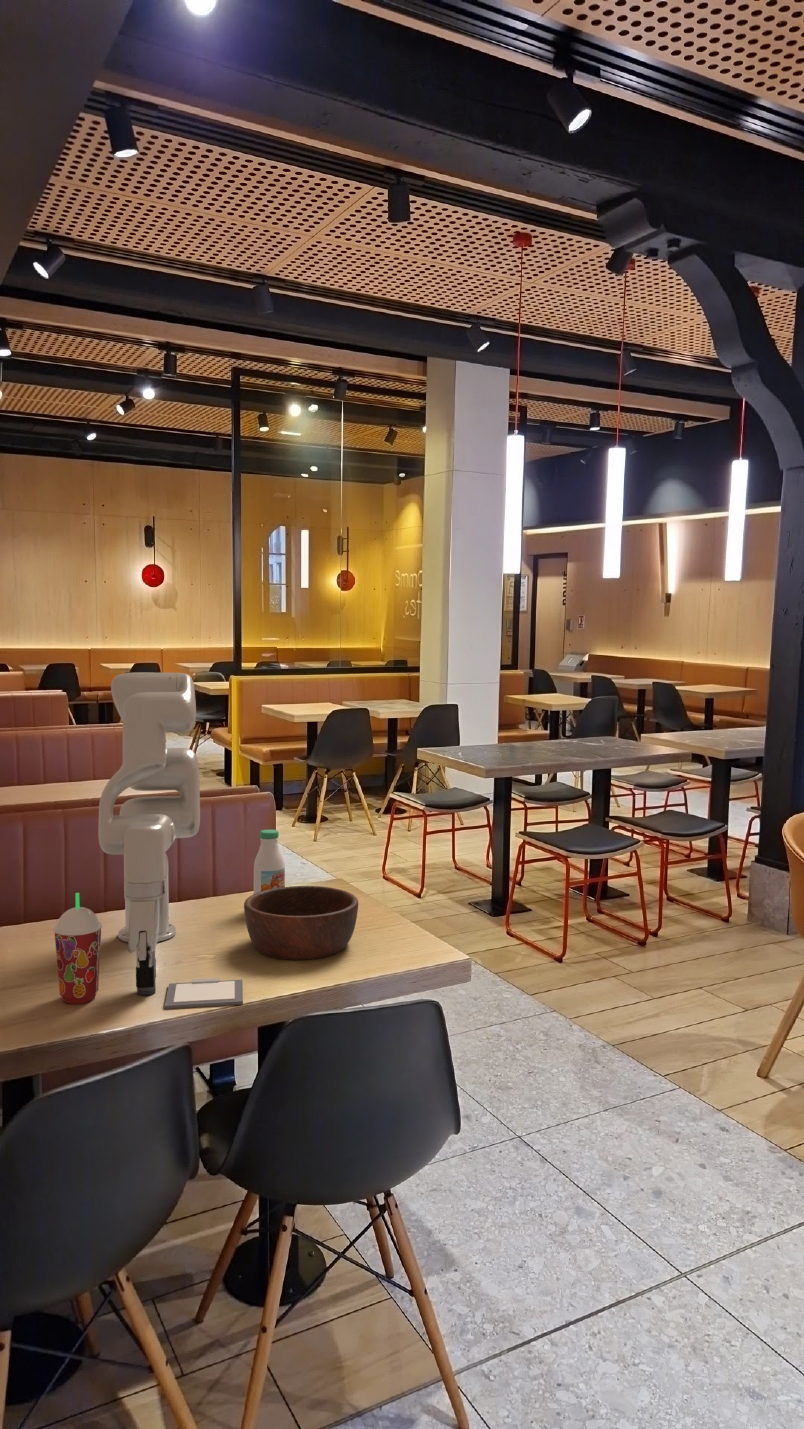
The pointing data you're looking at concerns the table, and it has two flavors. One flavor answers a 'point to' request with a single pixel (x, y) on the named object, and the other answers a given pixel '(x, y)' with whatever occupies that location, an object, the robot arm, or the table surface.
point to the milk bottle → (269, 863)
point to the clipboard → (204, 993)
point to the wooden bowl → (301, 921)
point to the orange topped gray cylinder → (153, 989)
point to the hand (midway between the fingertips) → (146, 982)
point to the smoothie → (78, 954)
